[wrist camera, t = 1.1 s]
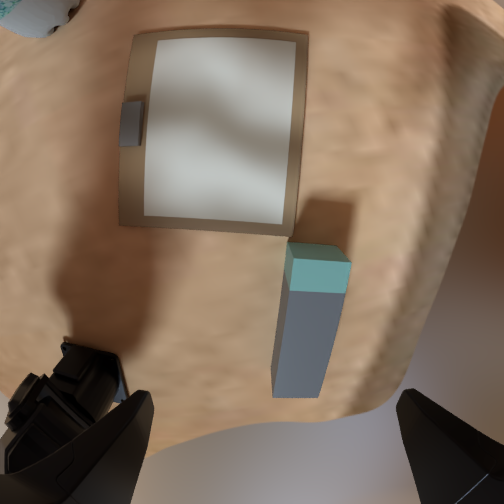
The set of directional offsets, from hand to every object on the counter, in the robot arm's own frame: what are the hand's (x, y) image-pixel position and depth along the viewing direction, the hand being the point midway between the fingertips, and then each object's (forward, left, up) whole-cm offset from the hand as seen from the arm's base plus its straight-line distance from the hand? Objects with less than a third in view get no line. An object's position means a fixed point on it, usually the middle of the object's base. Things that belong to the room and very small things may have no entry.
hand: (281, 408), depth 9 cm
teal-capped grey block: (-3, -3, -12) cm, 13 cm away
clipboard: (+10, +5, -12) cm, 16 cm away
